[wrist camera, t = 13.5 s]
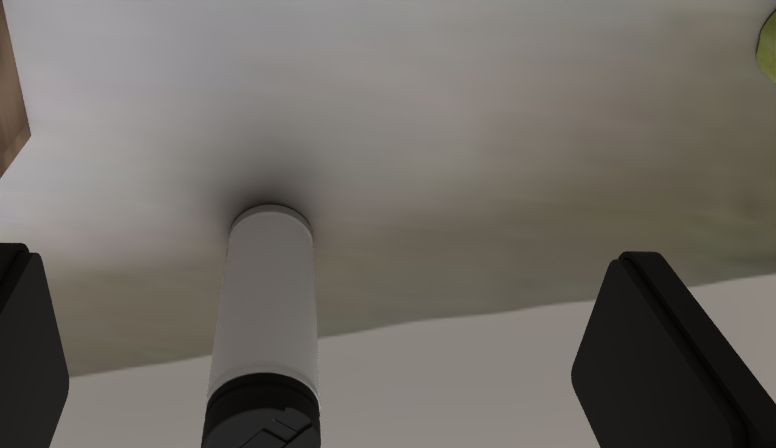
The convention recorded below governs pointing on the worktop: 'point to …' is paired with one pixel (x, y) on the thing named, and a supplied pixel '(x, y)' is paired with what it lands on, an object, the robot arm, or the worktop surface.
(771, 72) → the plant pot
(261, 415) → the travel mug
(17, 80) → the box
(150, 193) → the worktop surface
